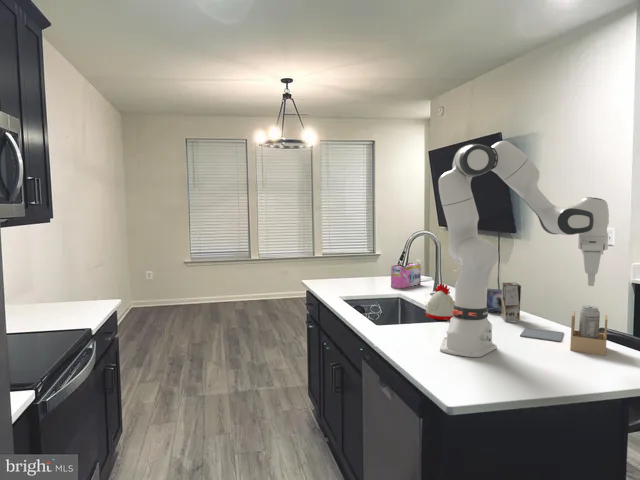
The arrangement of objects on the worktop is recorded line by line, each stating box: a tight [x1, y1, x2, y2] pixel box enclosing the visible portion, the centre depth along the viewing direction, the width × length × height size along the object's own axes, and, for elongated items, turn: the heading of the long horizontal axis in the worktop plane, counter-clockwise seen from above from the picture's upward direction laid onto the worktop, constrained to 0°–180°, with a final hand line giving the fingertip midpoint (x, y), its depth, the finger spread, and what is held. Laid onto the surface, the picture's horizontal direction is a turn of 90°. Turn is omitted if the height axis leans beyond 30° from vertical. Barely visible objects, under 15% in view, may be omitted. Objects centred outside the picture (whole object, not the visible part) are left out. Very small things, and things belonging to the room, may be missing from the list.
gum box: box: [390, 262, 422, 289], centre depth 294 cm, size 24×8×14 cm, turn 136°
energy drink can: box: [578, 305, 601, 339], centre depth 164 cm, size 6×6×15 cm
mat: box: [519, 327, 564, 343], centre depth 182 cm, size 14×14×1 cm
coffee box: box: [500, 282, 522, 323], centre depth 206 cm, size 9×6×16 cm
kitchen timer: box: [425, 283, 455, 321], centre depth 212 cm, size 14×14×15 cm
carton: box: [569, 310, 608, 356], centre depth 164 cm, size 11×11×12 cm
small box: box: [487, 288, 502, 314], centre depth 222 cm, size 11×6×10 cm, turn 68°
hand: (591, 283), depth 162 cm, fingers open, 8 cm apart
